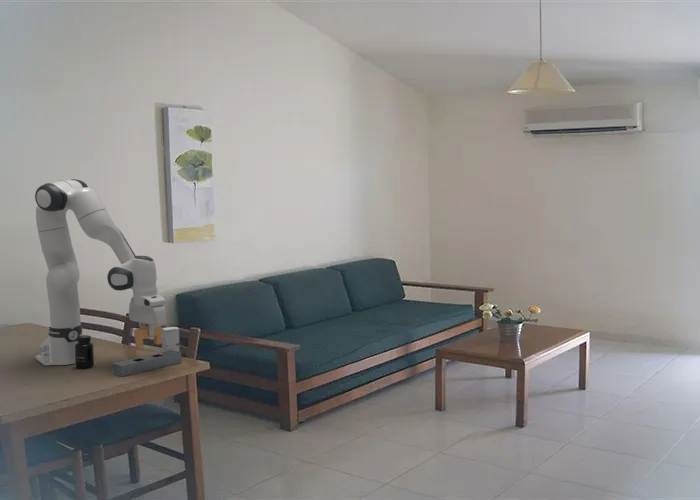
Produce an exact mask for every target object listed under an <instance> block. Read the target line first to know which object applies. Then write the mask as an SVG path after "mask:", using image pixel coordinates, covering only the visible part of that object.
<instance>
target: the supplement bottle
mask: <svg viewBox="0 0 700 500" xmlns="http://www.w3.org/2000/svg"><path fill="white" fill-rule="evenodd" d="M91 341H92V339H91V335H88V334H87V335H86V334H85V335H83V334H82V336H78V337H77V342H78V343H77V344H76V345H75V365H74V366H75V368H76V369H77V370H89V369H92V368H93V367H95V352H94V351H95V349H94V348H95V347H94V344H93V342H91Z"/></svg>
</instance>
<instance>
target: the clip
mask: <svg viewBox="0 0 700 500" xmlns="http://www.w3.org/2000/svg"><path fill="white" fill-rule="evenodd" d="M149 328H150V327H149V326H146V327H144V328H140V327H139V328H137V329H133V334H134V335H133V336H134V337H133V338H134V341H135V348H136V349H137V350H139V349H144V339H150V338H153V343H154V344H155V345H162V328H163V327H162V326H156V327H155V330H154V335H153V336H149V335H148V331H149Z"/></svg>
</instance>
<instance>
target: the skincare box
mask: <svg viewBox="0 0 700 500" xmlns="http://www.w3.org/2000/svg"><path fill="white" fill-rule="evenodd" d="M161 338H162V343H161V353H162V352H167V351H171V350H173V351H177V352H180V328H179V327H177V326H169V327H168V326H167V327H162V335H161Z"/></svg>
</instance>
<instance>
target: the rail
mask: <svg viewBox="0 0 700 500" xmlns="http://www.w3.org/2000/svg"><path fill="white" fill-rule="evenodd" d="M182 363H183V361H182V352H180V351H179V352H177V351H173V350H171V351H167V352H162V351H161V352H159V353H154V354H150V355H145V356H140V357H136V358H135V357H134V358H131V359H126V360H122V361H117V362H113V363H112V374H113V375H115V376H118V377H121V378H122V377H126V376H132V375H135V374H139V373H144V372H148V371H152V370H156V369H161V368H164V367H165V366H166V367H169V365H170V366H173V365H177V364H182ZM166 367H165V368H166Z"/></svg>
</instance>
